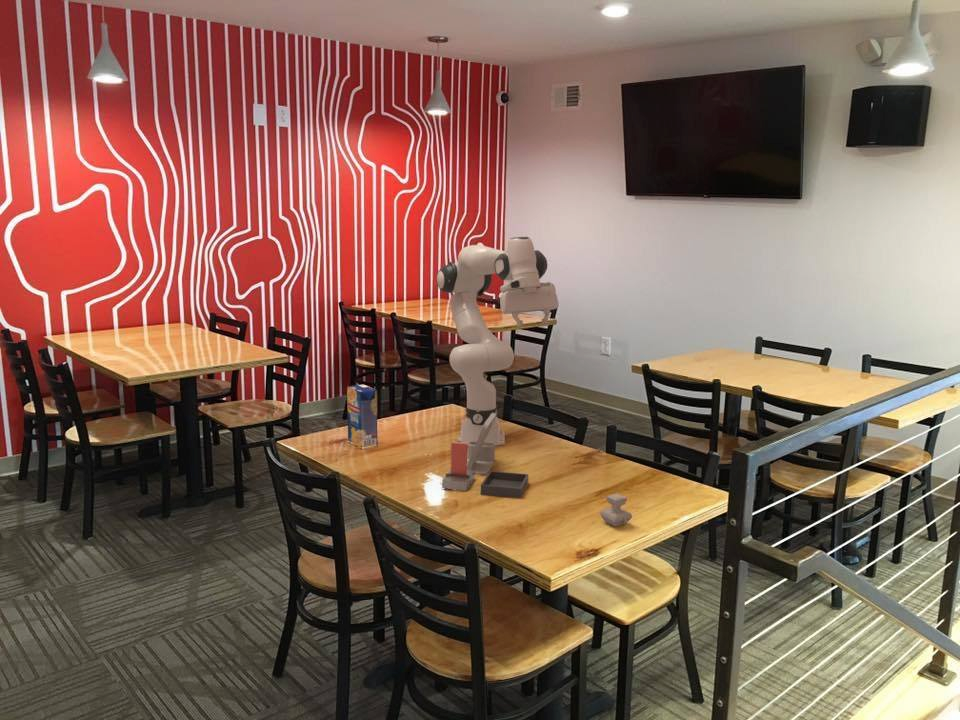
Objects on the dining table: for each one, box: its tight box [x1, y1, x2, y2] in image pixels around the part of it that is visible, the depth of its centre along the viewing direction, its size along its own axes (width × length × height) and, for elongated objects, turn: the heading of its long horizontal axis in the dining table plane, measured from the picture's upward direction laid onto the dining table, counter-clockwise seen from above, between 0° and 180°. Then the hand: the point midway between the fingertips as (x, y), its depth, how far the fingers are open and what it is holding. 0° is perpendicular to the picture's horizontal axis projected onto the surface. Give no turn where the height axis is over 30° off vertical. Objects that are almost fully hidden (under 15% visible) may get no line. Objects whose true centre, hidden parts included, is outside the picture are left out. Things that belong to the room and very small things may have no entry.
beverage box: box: [346, 383, 378, 448], centre depth 293 cm, size 7×11×22 cm, turn 36°
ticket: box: [450, 441, 468, 475], centre depth 254 cm, size 1×5×14 cm, turn 77°
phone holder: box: [467, 413, 496, 476], centre depth 271 cm, size 17×10×18 cm, turn 168°
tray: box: [480, 470, 529, 499], centre depth 251 cm, size 14×13×3 cm
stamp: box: [599, 493, 633, 527], centre depth 224 cm, size 9×7×8 cm
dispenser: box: [441, 469, 476, 492], centre depth 255 cm, size 12×8×4 cm, turn 167°
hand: (533, 324), depth 257 cm, fingers open, 8 cm apart
